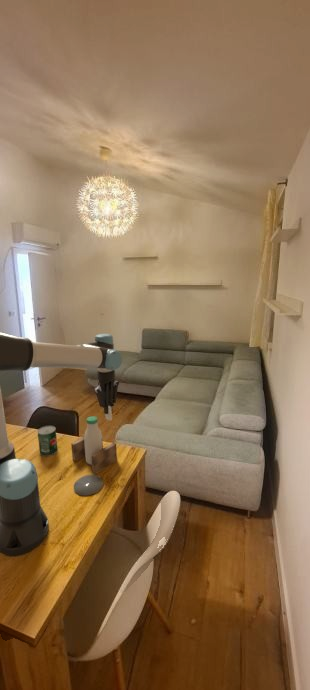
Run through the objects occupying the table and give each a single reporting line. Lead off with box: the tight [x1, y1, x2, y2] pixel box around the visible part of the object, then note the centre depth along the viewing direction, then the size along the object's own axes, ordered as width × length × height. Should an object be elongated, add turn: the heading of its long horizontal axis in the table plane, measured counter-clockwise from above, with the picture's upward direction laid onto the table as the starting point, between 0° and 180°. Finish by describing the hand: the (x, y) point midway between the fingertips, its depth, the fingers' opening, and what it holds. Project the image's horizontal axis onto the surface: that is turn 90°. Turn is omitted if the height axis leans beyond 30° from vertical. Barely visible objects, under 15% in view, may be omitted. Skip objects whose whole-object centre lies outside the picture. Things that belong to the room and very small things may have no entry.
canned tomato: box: [37, 425, 59, 457], centre depth 136 cm, size 8×8×11 cm
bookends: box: [70, 436, 118, 475], centre depth 130 cm, size 12×16×8 cm
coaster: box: [73, 474, 104, 497], centre depth 115 cm, size 11×11×1 cm
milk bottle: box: [83, 415, 104, 466], centre depth 128 cm, size 8×8×20 cm
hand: (108, 419), depth 134 cm, fingers closed
